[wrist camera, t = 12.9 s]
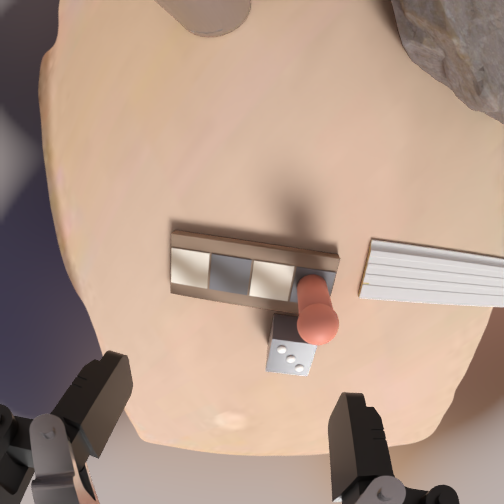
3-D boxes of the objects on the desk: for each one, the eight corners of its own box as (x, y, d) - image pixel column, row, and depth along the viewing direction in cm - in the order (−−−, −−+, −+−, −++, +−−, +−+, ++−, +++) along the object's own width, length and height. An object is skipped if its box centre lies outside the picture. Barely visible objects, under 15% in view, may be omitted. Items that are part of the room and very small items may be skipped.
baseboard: (372, 227, 38) (357, 293, 42) (378, 234, 36) (360, 303, 40) (521, 252, 37) (502, 303, 40) (530, 258, 34) (510, 311, 38)
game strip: (174, 230, 41) (170, 234, 39) (338, 254, 40) (340, 259, 38) (173, 288, 44) (170, 293, 43) (323, 311, 43) (324, 318, 42)
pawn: (298, 269, 39) (302, 316, 29) (332, 274, 39) (347, 321, 29) (291, 300, 41) (293, 351, 31) (324, 304, 41) (334, 355, 31)
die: (274, 313, 44) (272, 339, 38) (314, 319, 44) (317, 345, 38) (267, 344, 46) (265, 371, 41) (305, 349, 46) (307, 376, 40)
